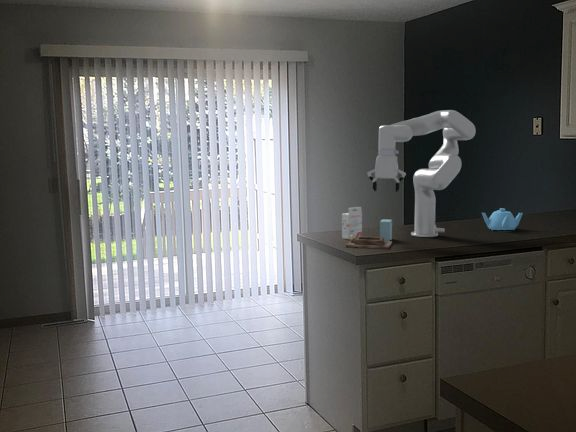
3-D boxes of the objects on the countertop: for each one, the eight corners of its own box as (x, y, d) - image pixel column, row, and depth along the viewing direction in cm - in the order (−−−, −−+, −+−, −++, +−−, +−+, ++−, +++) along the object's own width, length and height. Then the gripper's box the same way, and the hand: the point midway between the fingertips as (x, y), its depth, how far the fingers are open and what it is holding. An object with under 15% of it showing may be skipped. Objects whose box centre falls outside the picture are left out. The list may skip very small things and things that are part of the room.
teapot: (524, 230, 319) (525, 208, 317) (507, 233, 309) (508, 210, 308) (497, 226, 330) (497, 206, 329) (480, 229, 321) (480, 208, 320)
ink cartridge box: (355, 236, 301) (355, 205, 299) (362, 237, 297) (362, 206, 295) (341, 238, 296) (341, 206, 294) (348, 239, 292) (348, 207, 290)
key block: (391, 239, 293) (392, 219, 292) (389, 241, 286) (389, 221, 285) (381, 238, 294) (382, 219, 293) (379, 241, 287) (379, 221, 286)
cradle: (392, 243, 281) (392, 234, 280) (388, 248, 267) (388, 239, 267) (351, 241, 286) (351, 233, 285) (345, 247, 272) (345, 237, 272)
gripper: (407, 153, 286) (406, 191, 289) (368, 152, 291) (368, 190, 293) (405, 153, 279) (404, 192, 281) (366, 153, 284) (365, 191, 286)
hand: (385, 191), depth 287 cm, fingers open, 9 cm apart
